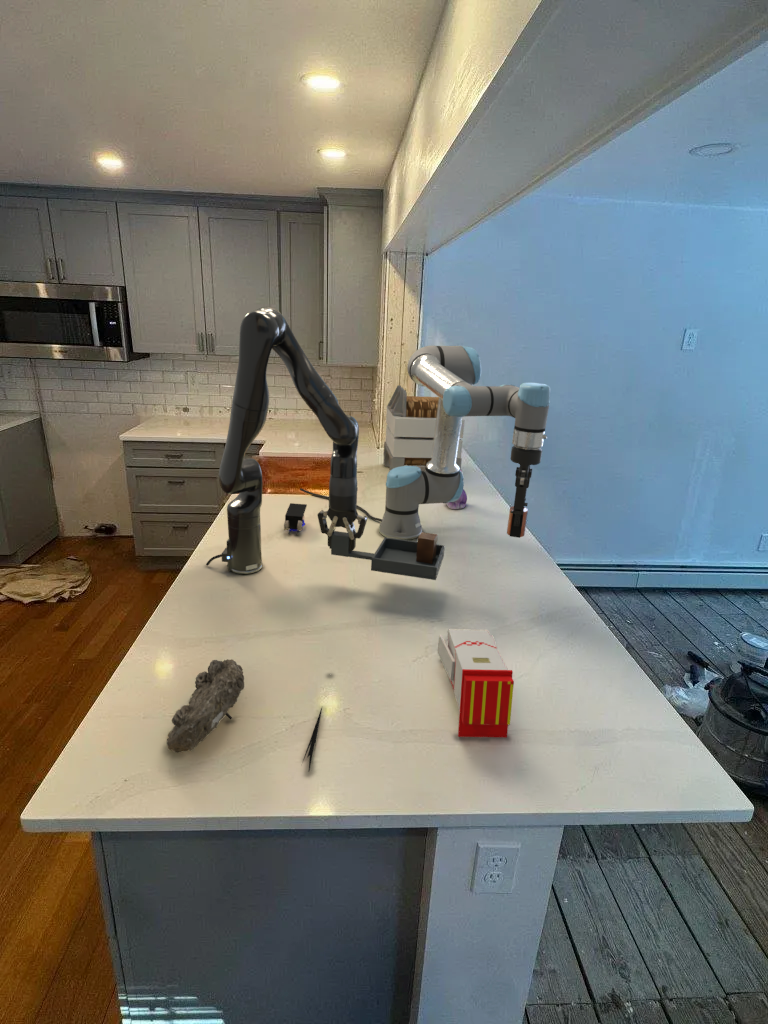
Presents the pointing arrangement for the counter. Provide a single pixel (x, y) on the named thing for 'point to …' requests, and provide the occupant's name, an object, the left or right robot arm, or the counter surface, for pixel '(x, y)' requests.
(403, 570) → the tray
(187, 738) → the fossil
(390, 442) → the white crate
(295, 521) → the figurine character
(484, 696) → the toy
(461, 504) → the figurine
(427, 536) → the walnut block
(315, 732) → the feather
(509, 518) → the terracotta cylinder
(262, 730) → the counter surface
